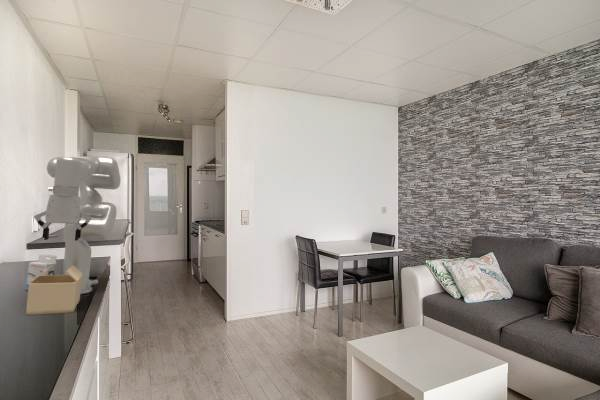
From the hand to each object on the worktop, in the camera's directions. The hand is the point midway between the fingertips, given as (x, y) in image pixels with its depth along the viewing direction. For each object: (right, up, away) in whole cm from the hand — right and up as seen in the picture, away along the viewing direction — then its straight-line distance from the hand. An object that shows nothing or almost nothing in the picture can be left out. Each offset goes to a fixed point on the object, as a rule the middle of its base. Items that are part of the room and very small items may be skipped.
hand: (61, 239), depth 121 cm
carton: (-2, -24, -1) cm, 24 cm away
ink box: (-23, -24, +20) cm, 39 cm away
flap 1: (-5, -12, -3) cm, 13 cm away
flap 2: (+3, -12, +1) cm, 13 cm away
